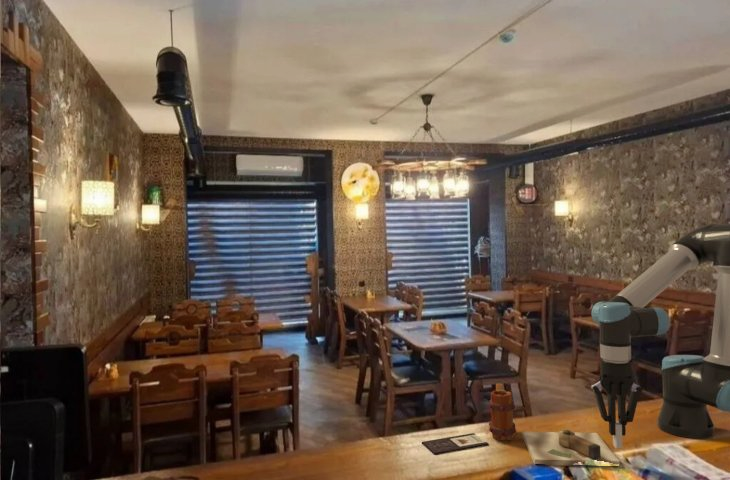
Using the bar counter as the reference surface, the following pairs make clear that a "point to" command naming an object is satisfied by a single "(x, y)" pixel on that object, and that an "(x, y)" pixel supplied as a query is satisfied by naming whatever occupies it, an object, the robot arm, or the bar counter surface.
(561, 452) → the dial board
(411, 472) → the bar counter surface
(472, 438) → the chocolate bar
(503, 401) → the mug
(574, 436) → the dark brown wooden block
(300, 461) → the bar counter surface
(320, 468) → the bar counter surface
